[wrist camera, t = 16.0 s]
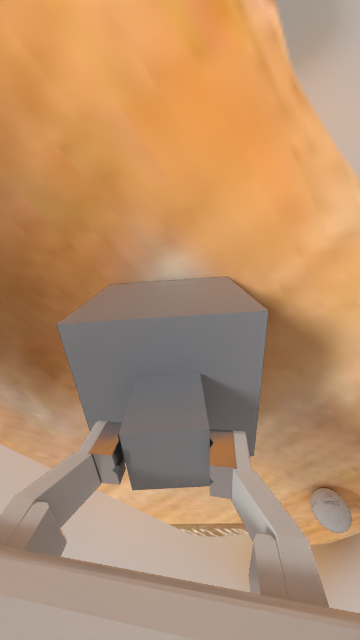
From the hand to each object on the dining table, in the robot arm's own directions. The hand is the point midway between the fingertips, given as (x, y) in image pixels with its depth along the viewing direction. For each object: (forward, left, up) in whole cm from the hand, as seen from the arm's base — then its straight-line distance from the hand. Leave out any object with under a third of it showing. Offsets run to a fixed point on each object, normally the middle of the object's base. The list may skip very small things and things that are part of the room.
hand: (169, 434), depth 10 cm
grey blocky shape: (-2, 0, -11) cm, 11 cm away
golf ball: (+16, -23, -12) cm, 30 cm away
